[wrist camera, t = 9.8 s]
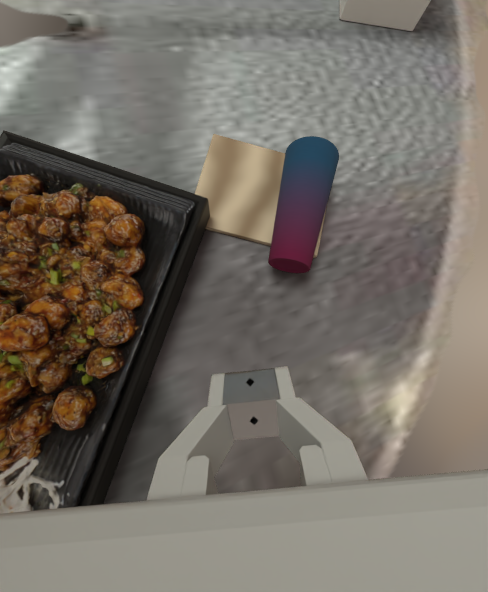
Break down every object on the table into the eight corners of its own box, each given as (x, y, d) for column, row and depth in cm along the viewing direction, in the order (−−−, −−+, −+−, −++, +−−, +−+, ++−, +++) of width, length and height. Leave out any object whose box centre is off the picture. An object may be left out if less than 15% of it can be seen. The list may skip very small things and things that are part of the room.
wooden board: (186, 224, 35) (186, 221, 34) (213, 138, 37) (213, 134, 37) (315, 257, 35) (317, 255, 34) (331, 170, 38) (334, 167, 37)
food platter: (63, 609, 26) (-42, 784, 16) (-178, 537, 25) (-448, 669, 15) (210, 215, 34) (204, 163, 24) (31, 156, 34) (-51, 77, 24)
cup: (255, 265, 34) (278, 165, 36) (303, 279, 35) (322, 180, 37) (269, 249, 27) (297, 128, 29) (329, 266, 28) (350, 147, 30)
